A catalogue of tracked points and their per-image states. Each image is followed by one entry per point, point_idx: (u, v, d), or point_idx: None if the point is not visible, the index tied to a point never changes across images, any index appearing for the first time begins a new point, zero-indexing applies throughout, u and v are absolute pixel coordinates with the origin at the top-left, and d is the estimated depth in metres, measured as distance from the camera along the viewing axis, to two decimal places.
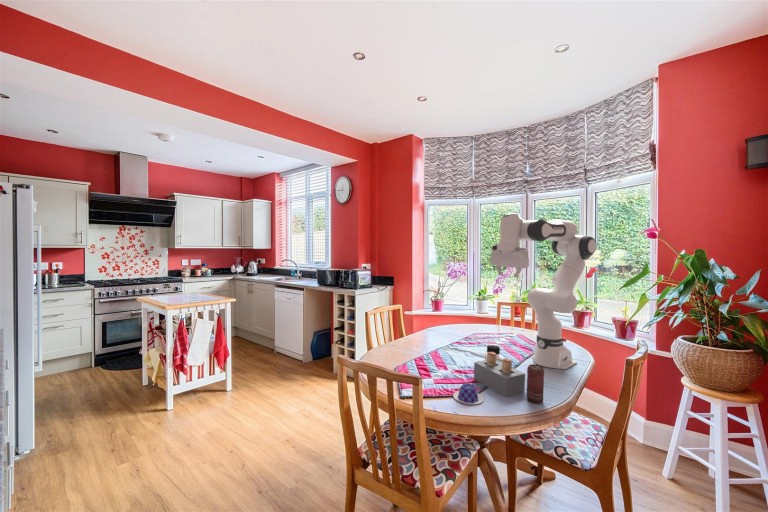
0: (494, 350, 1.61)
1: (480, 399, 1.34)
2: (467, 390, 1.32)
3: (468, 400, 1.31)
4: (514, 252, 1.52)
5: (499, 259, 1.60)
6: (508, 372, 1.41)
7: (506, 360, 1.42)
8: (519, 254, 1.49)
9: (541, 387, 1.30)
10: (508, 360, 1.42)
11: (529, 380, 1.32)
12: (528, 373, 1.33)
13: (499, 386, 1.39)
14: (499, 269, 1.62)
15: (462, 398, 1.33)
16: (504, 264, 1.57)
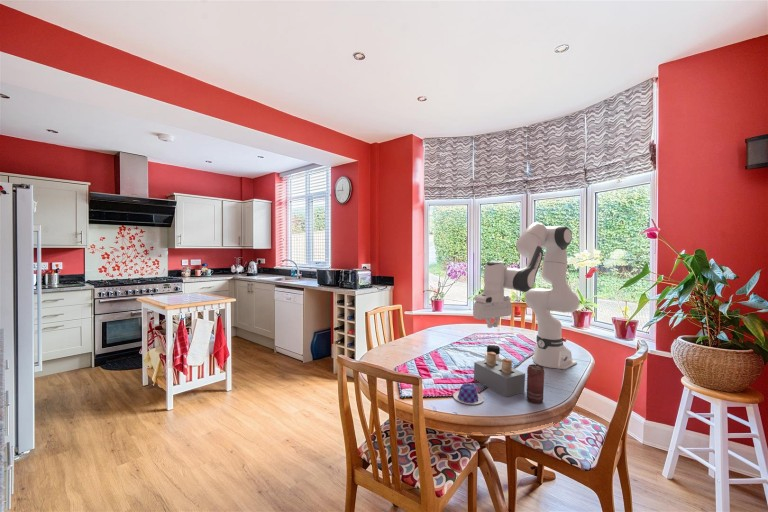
0: (494, 350, 1.61)
1: (480, 399, 1.33)
2: (467, 390, 1.32)
3: (468, 400, 1.31)
4: (503, 301, 1.49)
5: (488, 311, 1.46)
6: (508, 372, 1.41)
7: (506, 360, 1.42)
8: (508, 303, 1.51)
9: (541, 387, 1.30)
10: (508, 360, 1.42)
11: (529, 380, 1.32)
12: (528, 373, 1.33)
13: (499, 386, 1.39)
14: None
15: (462, 398, 1.33)
16: (494, 316, 1.47)
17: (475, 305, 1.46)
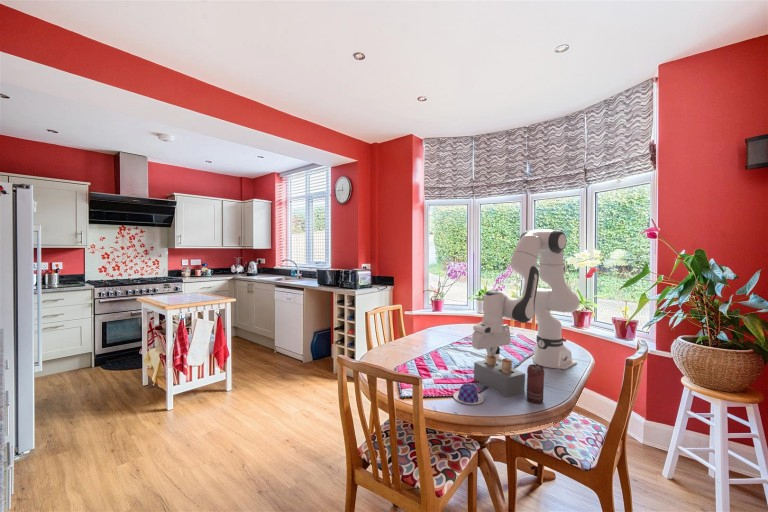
0: None
1: (480, 400, 1.33)
2: (466, 390, 1.32)
3: (467, 400, 1.31)
4: (502, 330, 1.50)
5: (487, 341, 1.46)
6: (508, 372, 1.41)
7: (506, 360, 1.42)
8: (507, 332, 1.51)
9: (541, 387, 1.30)
10: (508, 360, 1.42)
11: (529, 380, 1.32)
12: (528, 373, 1.33)
13: (499, 386, 1.39)
14: None
15: (461, 398, 1.33)
16: (493, 345, 1.48)
17: (474, 335, 1.46)
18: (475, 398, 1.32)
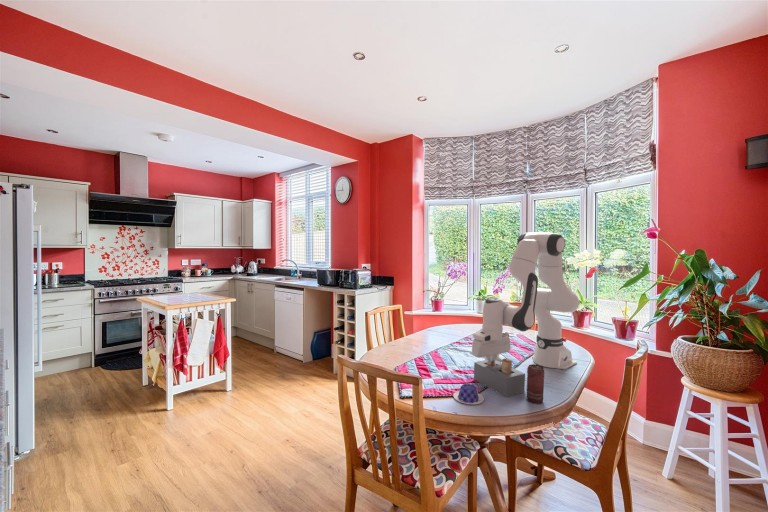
0: None
1: (480, 400, 1.33)
2: (466, 390, 1.32)
3: (467, 400, 1.32)
4: (502, 338, 1.50)
5: (487, 349, 1.47)
6: (508, 372, 1.41)
7: (506, 360, 1.42)
8: (507, 339, 1.52)
9: (541, 387, 1.30)
10: (508, 360, 1.42)
11: (529, 380, 1.32)
12: (528, 373, 1.33)
13: (499, 386, 1.39)
14: None
15: (461, 398, 1.33)
16: (492, 353, 1.48)
17: (474, 343, 1.47)
18: (475, 398, 1.32)
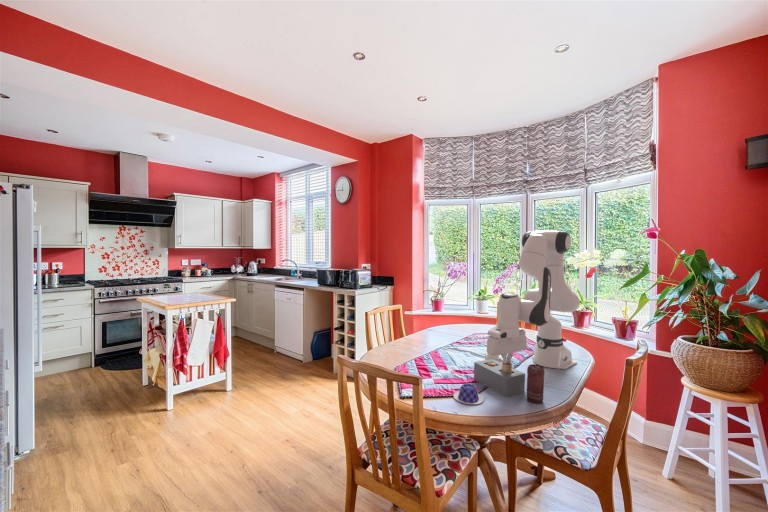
0: None
1: (480, 400, 1.33)
2: (466, 390, 1.32)
3: (466, 400, 1.32)
4: (518, 335, 1.42)
5: (503, 346, 1.38)
6: None
7: (506, 363, 1.42)
8: (523, 337, 1.43)
9: (541, 387, 1.30)
10: (508, 363, 1.42)
11: (529, 380, 1.32)
12: (528, 373, 1.33)
13: (499, 386, 1.39)
14: None
15: (461, 397, 1.33)
16: (508, 351, 1.40)
17: (489, 340, 1.38)
18: (475, 398, 1.32)
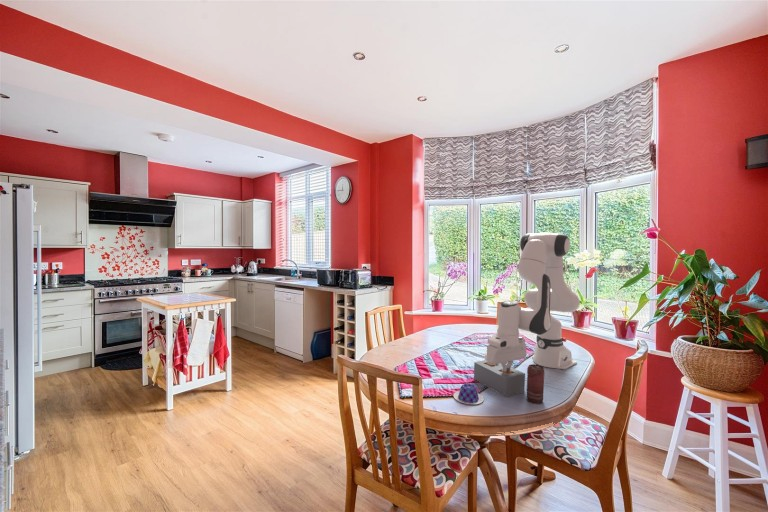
0: None
1: (480, 400, 1.33)
2: (466, 390, 1.32)
3: (466, 400, 1.32)
4: None
5: (503, 355, 1.39)
6: None
7: None
8: (523, 345, 1.44)
9: (541, 387, 1.30)
10: (508, 371, 1.42)
11: (529, 380, 1.32)
12: (528, 373, 1.33)
13: (499, 386, 1.39)
14: None
15: (461, 397, 1.33)
16: (508, 360, 1.40)
17: (489, 349, 1.39)
18: (474, 398, 1.32)
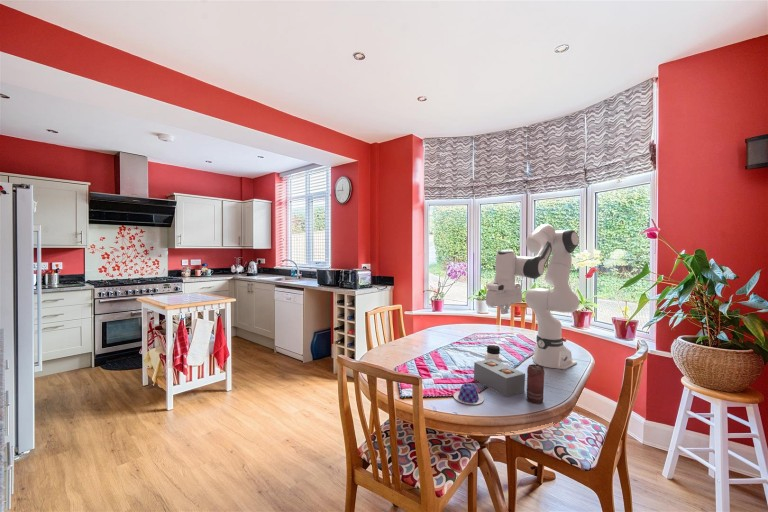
0: (494, 350, 1.61)
1: (480, 401, 1.32)
2: (465, 390, 1.32)
3: (466, 400, 1.32)
4: (514, 288, 1.55)
5: (501, 298, 1.51)
6: None
7: (506, 371, 1.42)
8: (519, 290, 1.56)
9: (541, 387, 1.30)
10: (508, 371, 1.42)
11: (529, 380, 1.32)
12: (528, 373, 1.33)
13: (499, 386, 1.39)
14: None
15: (461, 397, 1.34)
16: (506, 303, 1.53)
17: (488, 293, 1.51)
18: (474, 398, 1.32)
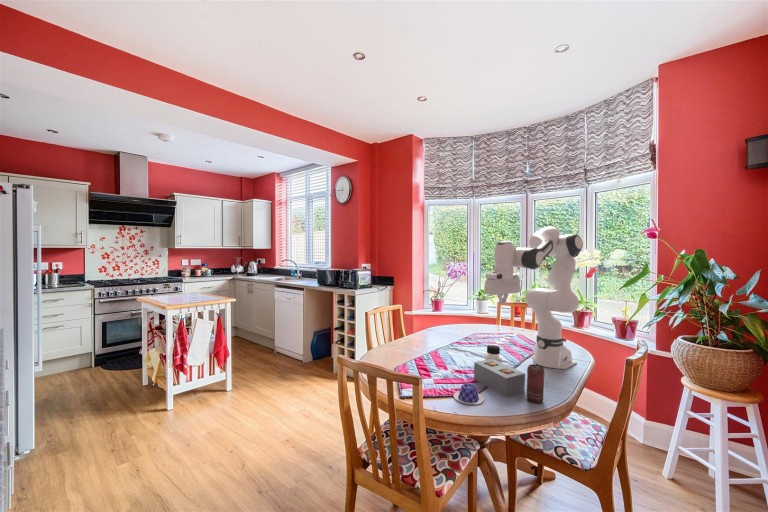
0: (494, 350, 1.61)
1: (480, 401, 1.32)
2: (465, 390, 1.32)
3: (465, 400, 1.32)
4: (512, 279, 1.60)
5: (499, 287, 1.56)
6: None
7: (506, 371, 1.42)
8: (517, 280, 1.61)
9: (541, 387, 1.30)
10: (508, 371, 1.42)
11: (529, 380, 1.32)
12: (528, 373, 1.33)
13: (499, 386, 1.39)
14: None
15: (460, 397, 1.34)
16: (504, 292, 1.57)
17: (486, 282, 1.56)
18: (474, 399, 1.32)
